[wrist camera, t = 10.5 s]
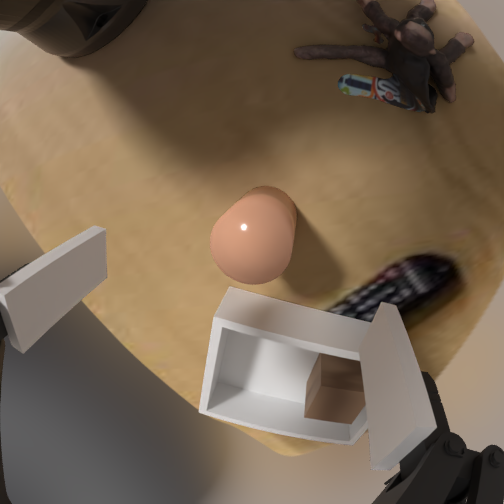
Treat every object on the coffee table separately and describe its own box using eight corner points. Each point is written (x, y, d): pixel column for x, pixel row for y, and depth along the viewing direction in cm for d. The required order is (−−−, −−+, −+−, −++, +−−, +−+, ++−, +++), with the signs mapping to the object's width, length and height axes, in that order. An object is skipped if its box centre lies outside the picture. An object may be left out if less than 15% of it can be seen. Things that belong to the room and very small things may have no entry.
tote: (229, 286, 27) (213, 316, 23) (404, 330, 26) (416, 363, 21) (211, 381, 33) (198, 412, 28) (351, 413, 31) (352, 445, 27)
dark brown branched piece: (497, 75, 15) (464, 122, 12) (424, 105, 24) (364, 158, 21) (413, -35, 12) (334, -40, 10) (355, 15, 22) (273, 42, 19)
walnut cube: (367, 357, 27) (372, 393, 23) (349, 389, 29) (351, 424, 25) (320, 349, 28) (320, 385, 23) (306, 382, 30) (303, 417, 25)
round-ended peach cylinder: (242, 179, 24) (217, 197, 17) (303, 195, 23) (301, 218, 17) (231, 236, 26) (204, 272, 19) (288, 252, 25) (280, 293, 19)
